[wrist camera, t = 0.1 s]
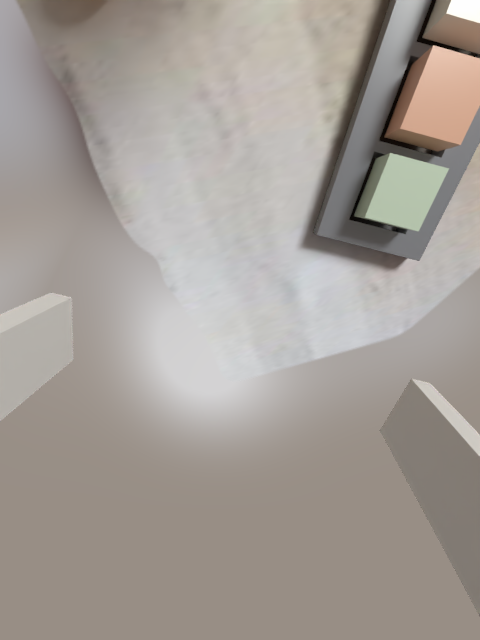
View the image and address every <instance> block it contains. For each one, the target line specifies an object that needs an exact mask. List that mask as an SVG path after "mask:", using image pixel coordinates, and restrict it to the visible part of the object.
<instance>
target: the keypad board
mask: <svg viewBox="0 0 480 640" xmlns="http://www.w3.org/2000/svg"><path fill="white" fill-rule="evenodd" d="M431 1H432V0H390V3H389V6H388V9H387V12H386V15H385V18H384V21H383V24H382V27H381V30H380V33H379V36H378V39H377V42H376V45H375V48H374V51H373V54H372V57H371V60H370V63H369V66H368V69H367V72H366V75H365V78H364V81H363V84H362V87H361V90H360V93H359V96H358V99H357V102H356V105H355V108H354V111H353V114H352V117H351V120H350V123H349V126H348V129H347V132H346V135H345V138H344V141H343V144H342V147H341V150H340V153H339V156H338V159H337V162H336V165H335V168H334V171H333V174H332V177H331V180H330V183H329V187H328V190H327V193H326V196H325V199H324V202H323V205H322V208H321V211H320V214H319V217H318V220H317V223H316V226H315V229H314V232H313V233H314V234H316V235H319V236H323V237H327V238H331V239H335V240H339V241H343V242H347V243H350V244H354V245H358V246H362V247H366V248H370V249H374V250H378V251H382V252H386V253H390V254H394V255H398V256H401V257H405V258H409V259H413V260H417V261H419V260H420V258H421V257H422V255H423V253H424V251H425V249H426V247H427V245H428V243H429V241H430V239H431V237H432V235H433V233H434V231H435V229H436V227H437V225H438V223H439V221H440V219H441V217H442V215H443V213H444V211H445V209H446V207H447V205H448V203H449V202H450V200H451V198H452V196H453V194H454V192H455V190H456V188H457V186H458V184H459V182H460V180H461V178H462V176H463V174H464V172H465V170H466V168H467V166H468V164H469V162H470V160H471V158H472V156H473V154H474V152H475V150H476V148H477V147H478V145H479V143H480V106H479V108H478V110H477V112H476V114H475V116H474V119H473V121H472V123H471V125H470V127H469V129H468V131H467V133H466V135H465V137H464V139H463V141H462V143H461V145H459V146H456V147H452V148H449V149H445V150H442V151H438V152H437V151H434V150H433V151H432V153H431V155H430V154H426V153H422V152H419V151H415V150H411V149H408V148H404V147H400V146H396V145H393V144H389V143H385V142H382V141H379V139H380V136H381V133H382V131H383V128H384V125H385V123H386V120H387V117H388V115H389V112H390V109H391V107H392V104H393V101H394V99H395V96H396V94H397V91H398V88H399V86H400V83H401V80H402V78H403V75H404V72H405V70H409V71H410V68H411V65H412V64H413V63H414V62H415V61H417V60H418V59H419V58H420V57H421V56H422V55H423V54H424V53H425V52H427V51H428V50H429V49H430V48H431V47H432V46H430V45H427V44H423V43H420V42H416V40H417V38H418V35H419V33H420V30H421V27H422V25H423V22H424V19H425V17H426V14H427V11H428V9H429V6H430V3H431ZM475 57H476V58H480V54H476V56H475ZM389 153H393V154H397V155H400V156H404V157H408V158H412V159H415V160H419V161H423V162H426V163H430V164H434V165H438V166H441V167H445V168H449V170H448V172H447V174H446V176H445V178H444V180H443V182H442V184H441V186H440V189H439V191H438V193H437V195H436V197H435V199H434V201H433V203H432V205H431V207H430V209H429V211H428V213H427V215H426V217H425V219H424V221H423V223H422V226H421V228H420V230H419V231H413V230H407V229H402V228H397V230H396V232H395V231H391V230H387V229H383V228H380V227H376V226H372V225H368V224H364V223H360V222H356V221H352V220H349V218H350V216H351V213H352V210H353V208H354V205H355V202H356V200H357V197H358V194H359V192H360V189H361V186H362V184H363V181H364V178H365V176H366V173H367V170H368V168H369V165H370V162H371V160H372V157H374V158H378V157H381V156H384V155H386V154H389Z"/></svg>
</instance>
